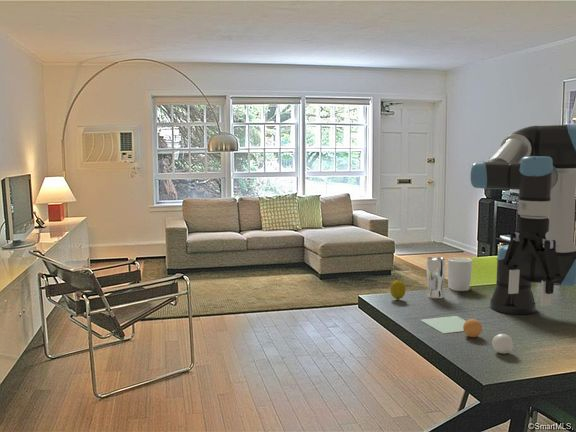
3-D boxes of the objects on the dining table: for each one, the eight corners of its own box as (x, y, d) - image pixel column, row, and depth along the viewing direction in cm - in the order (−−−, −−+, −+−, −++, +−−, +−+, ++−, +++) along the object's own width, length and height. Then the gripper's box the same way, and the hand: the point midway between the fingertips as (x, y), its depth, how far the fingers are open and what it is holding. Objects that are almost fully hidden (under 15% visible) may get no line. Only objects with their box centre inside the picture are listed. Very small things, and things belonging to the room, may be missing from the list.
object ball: (474, 332, 174) (475, 315, 173) (485, 338, 169) (486, 321, 168) (459, 334, 172) (459, 317, 172) (469, 340, 167) (470, 322, 166)
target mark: (456, 316, 191) (456, 315, 191) (481, 329, 177) (481, 328, 177) (419, 320, 187) (419, 319, 187) (443, 333, 173) (443, 333, 173)
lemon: (405, 302, 207) (405, 281, 206) (390, 301, 208) (390, 280, 207) (405, 298, 213) (405, 278, 212) (390, 297, 214) (390, 277, 213)
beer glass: (434, 300, 211) (435, 261, 209) (421, 295, 217) (423, 257, 215) (448, 297, 214) (449, 259, 212) (435, 293, 220) (436, 256, 218)
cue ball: (504, 348, 161) (504, 330, 160) (517, 355, 155) (518, 336, 155) (487, 350, 159) (488, 332, 158) (500, 357, 154) (501, 338, 153)
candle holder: (442, 285, 232) (443, 257, 230) (465, 285, 233) (466, 256, 231) (451, 291, 222) (452, 262, 221) (475, 291, 223) (476, 261, 221)
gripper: (491, 211, 153) (488, 289, 156) (556, 223, 131) (550, 313, 134) (514, 210, 156) (510, 287, 158) (581, 222, 133) (575, 310, 136)
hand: (528, 299), depth 146 cm, fingers open, 11 cm apart
